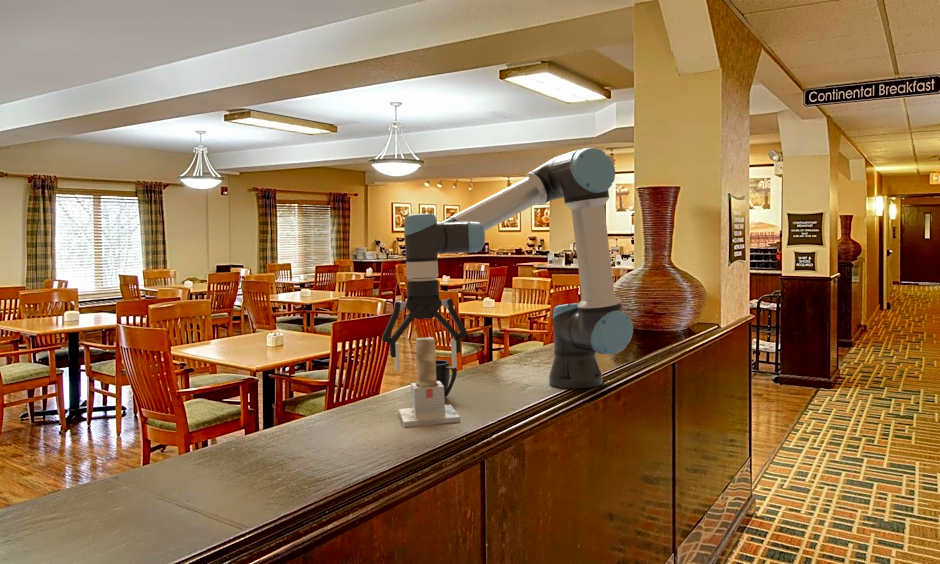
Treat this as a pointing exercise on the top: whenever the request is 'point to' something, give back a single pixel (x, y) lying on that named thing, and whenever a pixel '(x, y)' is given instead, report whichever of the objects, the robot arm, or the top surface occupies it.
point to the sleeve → (428, 407)
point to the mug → (445, 375)
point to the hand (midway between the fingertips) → (426, 368)
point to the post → (426, 362)
